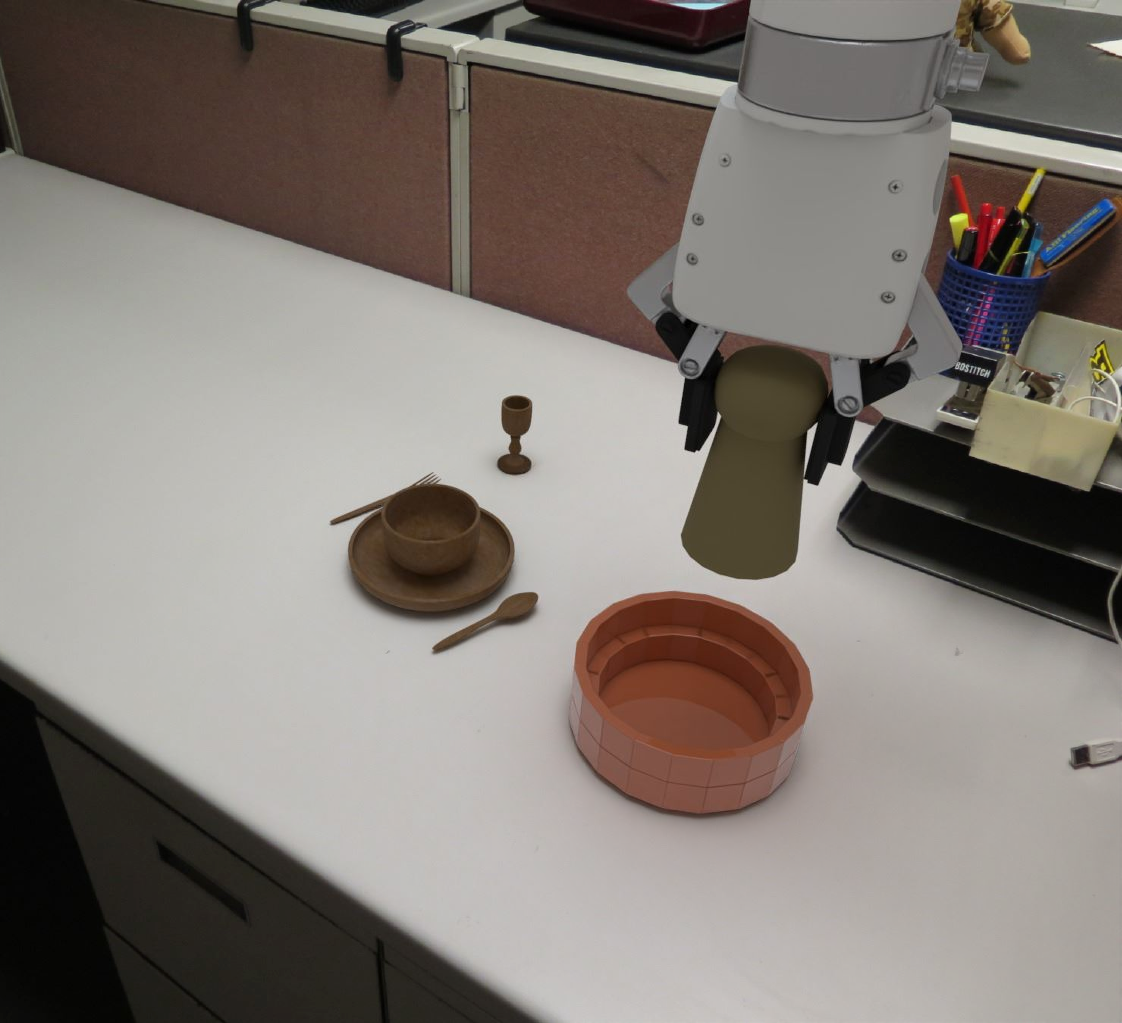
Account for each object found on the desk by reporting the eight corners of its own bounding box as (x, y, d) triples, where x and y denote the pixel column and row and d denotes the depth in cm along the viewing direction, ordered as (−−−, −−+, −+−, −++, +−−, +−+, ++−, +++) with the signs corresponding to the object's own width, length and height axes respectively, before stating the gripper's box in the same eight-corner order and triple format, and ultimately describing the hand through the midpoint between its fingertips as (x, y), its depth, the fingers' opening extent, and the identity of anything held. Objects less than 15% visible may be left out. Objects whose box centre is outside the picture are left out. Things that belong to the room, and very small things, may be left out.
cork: (677, 570, 54) (708, 382, 47) (684, 502, 58) (713, 323, 52) (799, 588, 53) (849, 398, 46) (796, 517, 57) (841, 336, 51)
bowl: (817, 692, 66) (834, 634, 63) (762, 855, 56) (779, 795, 53) (615, 623, 71) (622, 567, 68) (533, 762, 61) (538, 703, 58)
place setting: (301, 529, 79) (294, 465, 76) (513, 448, 88) (516, 387, 84) (425, 668, 68) (424, 599, 64) (657, 559, 76) (667, 493, 73)
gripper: (1085, 74, 41) (950, 462, 51) (661, 28, 47) (621, 380, 58) (1075, 127, 35) (927, 547, 46) (599, 66, 42) (568, 446, 53)
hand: (757, 451), depth 52 cm, fingers closed on cork, 5 cm apart
